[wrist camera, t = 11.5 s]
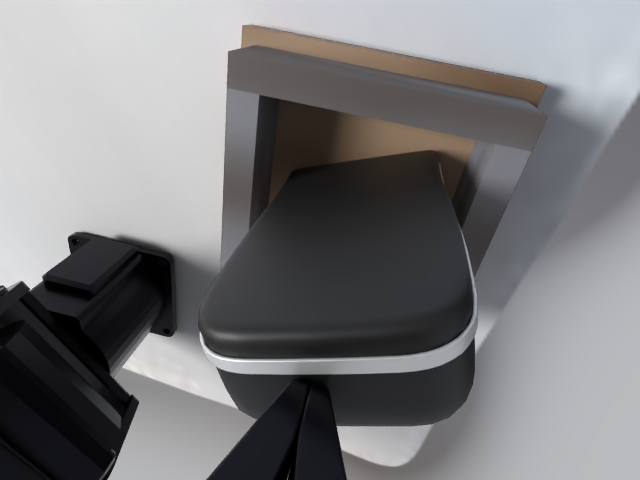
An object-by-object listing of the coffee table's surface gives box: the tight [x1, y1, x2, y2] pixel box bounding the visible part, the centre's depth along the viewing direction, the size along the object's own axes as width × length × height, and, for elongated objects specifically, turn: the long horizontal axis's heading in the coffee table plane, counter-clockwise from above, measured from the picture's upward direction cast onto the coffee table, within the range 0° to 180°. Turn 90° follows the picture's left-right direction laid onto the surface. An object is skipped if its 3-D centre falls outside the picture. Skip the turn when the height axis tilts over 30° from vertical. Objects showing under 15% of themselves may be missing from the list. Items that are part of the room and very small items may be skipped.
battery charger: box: [198, 150, 478, 426], centre depth 14 cm, size 7×4×11 cm, turn 101°
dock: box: [220, 25, 548, 277], centre depth 18 cm, size 12×12×4 cm
